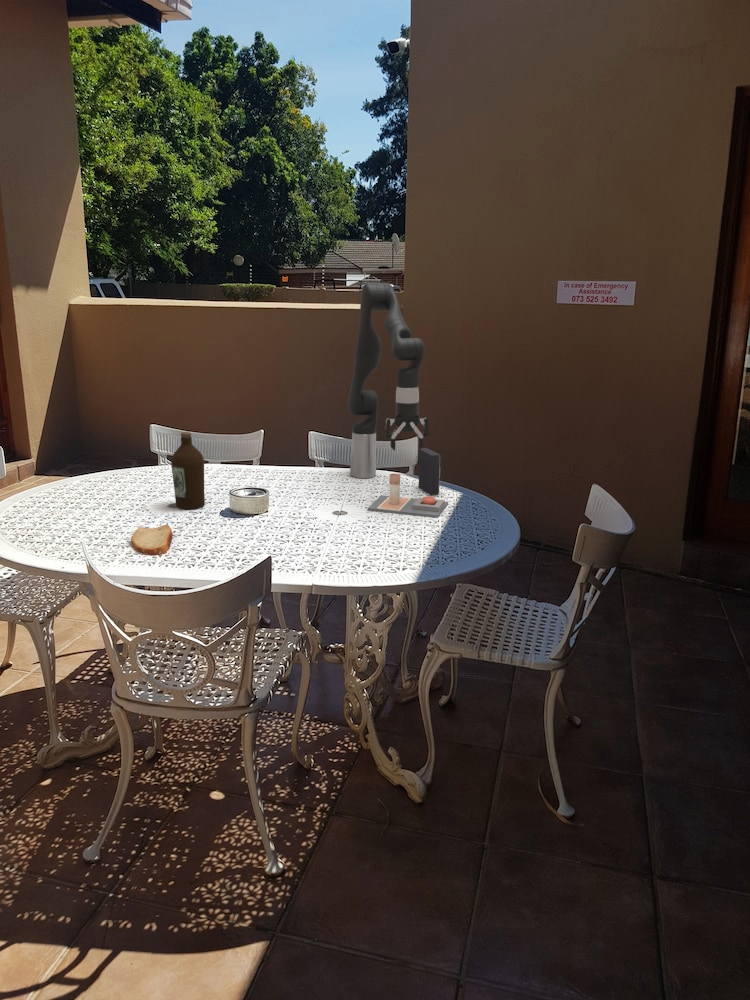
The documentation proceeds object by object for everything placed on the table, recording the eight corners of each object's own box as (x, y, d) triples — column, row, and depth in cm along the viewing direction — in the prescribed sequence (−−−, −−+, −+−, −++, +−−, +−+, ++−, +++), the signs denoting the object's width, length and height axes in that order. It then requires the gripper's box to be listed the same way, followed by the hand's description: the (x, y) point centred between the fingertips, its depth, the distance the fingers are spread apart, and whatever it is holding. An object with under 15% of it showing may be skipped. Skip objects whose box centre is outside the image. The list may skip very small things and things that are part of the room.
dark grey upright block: (440, 494, 268) (442, 454, 263) (429, 496, 266) (431, 455, 262) (427, 487, 278) (428, 447, 273) (416, 488, 276) (417, 448, 272)
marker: (387, 504, 253) (388, 475, 250) (390, 501, 257) (391, 473, 254) (398, 505, 252) (398, 476, 249) (400, 502, 256) (401, 473, 253)
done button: (420, 505, 249) (420, 499, 249) (423, 501, 253) (424, 496, 253) (433, 506, 248) (433, 500, 248) (436, 502, 252) (436, 497, 252)
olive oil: (194, 499, 259) (190, 428, 252) (212, 505, 252) (208, 433, 245) (168, 505, 252) (162, 433, 244) (185, 512, 245) (180, 437, 237)
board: (367, 510, 249) (367, 503, 249) (381, 497, 264) (381, 490, 263) (437, 517, 243) (438, 510, 242) (448, 504, 257) (448, 497, 257)
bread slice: (157, 558, 207) (156, 546, 205) (110, 547, 215) (108, 535, 213) (200, 539, 222) (199, 527, 221) (154, 529, 230) (153, 518, 229)
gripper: (426, 398, 248) (425, 446, 252) (384, 399, 246) (383, 447, 251) (431, 402, 241) (429, 451, 245) (387, 402, 239) (386, 452, 243)
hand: (406, 449), depth 248 cm, fingers open, 8 cm apart
